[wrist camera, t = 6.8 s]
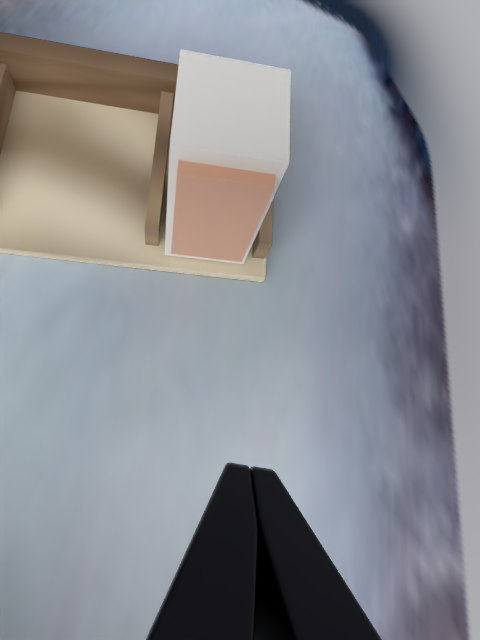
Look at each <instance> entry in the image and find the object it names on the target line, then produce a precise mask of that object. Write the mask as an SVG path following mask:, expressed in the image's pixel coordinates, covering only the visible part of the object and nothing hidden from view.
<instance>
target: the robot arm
mask: <svg viewBox="0 0 480 640" xmlns="http://www.w3.org/2000/svg"><path fill="white" fill-rule="evenodd" d="M146 640H381V638H380V636H379V635H378V633H377V632H376V630H375V629H374V627H373V625H372V624H371V622H370V621H369V619H368V617H367V616H366V614H365V613H364V611H363V610H362V608H361V606H360V605H359V603H358V602H357V600H356V599H355V597H354V595H353V594H352V592H351V591H350V589H349V588H348V586H347V584H346V583H345V581H344V580H343V578H342V577H341V575H340V573H339V572H338V570H337V569H336V567H335V565H334V564H333V562H332V561H331V559H330V558H329V556H328V554H327V553H326V551H325V550H324V548H323V547H322V545H321V543H320V542H319V540H318V539H317V537H316V536H315V534H314V532H313V531H312V529H311V528H310V526H309V525H308V523H307V521H306V520H305V518H304V517H303V515H302V514H301V512H300V510H299V509H298V507H297V506H296V504H295V502H294V501H293V499H292V498H291V496H290V495H289V493H288V491H287V490H286V488H285V487H284V485H283V484H282V482H281V480H280V479H279V477H278V476H277V474H276V473H275V472H274V471H273V470H271V469H266V468H260V467H251V468H249V467H248V466H247V465H242V464H235V463H227V464H226V465H225V467H224V469H223V471H222V474H221V476H220V478H219V480H218V482H217V485H216V487H215V489H214V491H213V493H212V496H211V498H210V500H209V502H208V504H207V507H206V509H205V511H204V513H203V515H202V518H201V520H200V522H199V524H198V526H197V528H196V531H195V533H194V535H193V537H192V539H191V542H190V544H189V546H188V548H187V550H186V553H185V555H184V557H183V559H182V561H181V564H180V566H179V568H178V570H177V572H176V575H175V577H174V579H173V581H172V583H171V586H170V588H169V590H168V592H167V594H166V596H165V599H164V601H163V603H162V605H161V607H160V610H159V612H158V614H157V616H156V618H155V621H154V623H153V625H152V627H151V629H150V632H149V634H148V636H147V638H146Z"/></svg>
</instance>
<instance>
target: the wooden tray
mask: <svg viewBox="0 0 480 640" xmlns="http://www.w3.org/2000/svg"><path fill="white" fill-rule="evenodd" d="M177 74H178V64H172V63H167V62H161V61H156V60H150V59H145V58H139V57H134V56H129V55H123V54H118V53H112V52H107V51H101V50H96V49H90V48H85V47H80V46H74V45H69V44H63V43H58V42H52V41H47V40H41V39H36V38H31V37H25V36H20V35H14V34H9V33H3V32H0V253H6V254H15V255H24V256H32V257H41V258H50V259H59V260H68V261H77V262H86V263H95V264H104V265H113V266H122V267H131V268H140V269H149V270H157V271H166V272H175V273H184V274H193V275H202V276H211V277H220V278H229V279H238V280H247V281H256V282H263V281H264V279H265V278H266V255H267V253H268V251H269V249H270V247H271V245H272V226H273V200H272V202H271V205H270V207H269V209H268V211H267V213H266V216H265V218H264V220H263V222H262V224H261V227H260V229H259V231H258V233H257V235H256V238H255V240H254V242H253V244H252V246H251V249H250V251H249V253H248V255H247V257H246V260H245V262H244V264H236V263H227V262H219V261H210V260H202V259H193V258H185V257H176V256H168V255H165V235H166V214H167V192H168V171H169V150H170V138H171V129H172V120H173V111H174V101H175V92H176V83H177Z"/></svg>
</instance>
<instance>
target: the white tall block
mask: <svg viewBox="0 0 480 640" xmlns="http://www.w3.org/2000/svg"><path fill="white" fill-rule="evenodd" d="M290 86H291V70H289V69H284V68H279V67H273V66H268V65H263V64H258V63H252V62H247V61H242V60H236V59H231V58H226V57H221V56H215V55H210V54H205V53H199V52H194V51H189V50H184V49H180V56H179V65H178V74H177V83H176V92H175V101H174V111H173V120H172V129H171V138H170V150H169V171H168V192H167V214H166V235H165V255H168V256H176V257H185V258H193V259H202V260H210V261H219V262H227V263H236V264H244V262H245V260H246V257H247V255H248V253H249V251H250V249H251V246H252V244H253V242H254V240H255V238H256V235H257V233H258V231H259V229H260V227H261V224H262V222H263V220H264V218H265V216H266V213H267V211H268V209H269V207H270V205H271V202H272V200H273V198H274V196H275V194H276V191H277V189H278V187H279V185H280V183H281V180H282V178H283V176H284V174H285V172H286V169H287V167H288V165H289V155H290Z"/></svg>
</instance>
